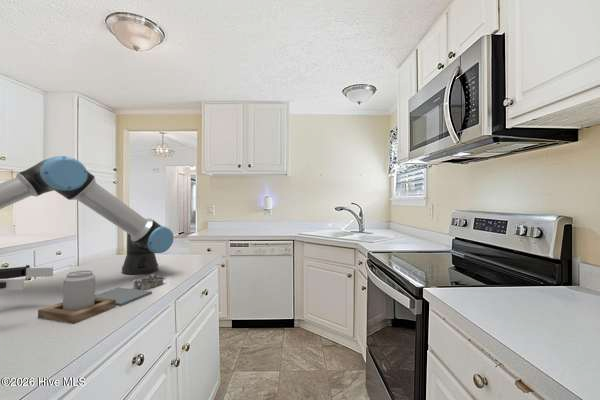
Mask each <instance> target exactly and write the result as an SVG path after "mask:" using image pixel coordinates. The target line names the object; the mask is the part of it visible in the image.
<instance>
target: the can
mask: <svg viewBox="0 0 600 400" xmlns="http://www.w3.org/2000/svg"><path fill="white" fill-rule="evenodd" d="M93 272H94V271H93V270H90V269H83V270H80V269H79V270H74V271H71V272H67V273H66V276H65V277H64V278H63V283H62V284H63V289H62V290H63V292H62V302H63V310H68V311H74V312H76V311H79V310H82V309H85V308H87V307H90V306H93V305H94V302H95V295H96V294H95V293H96V274H94V273H93Z"/></svg>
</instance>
